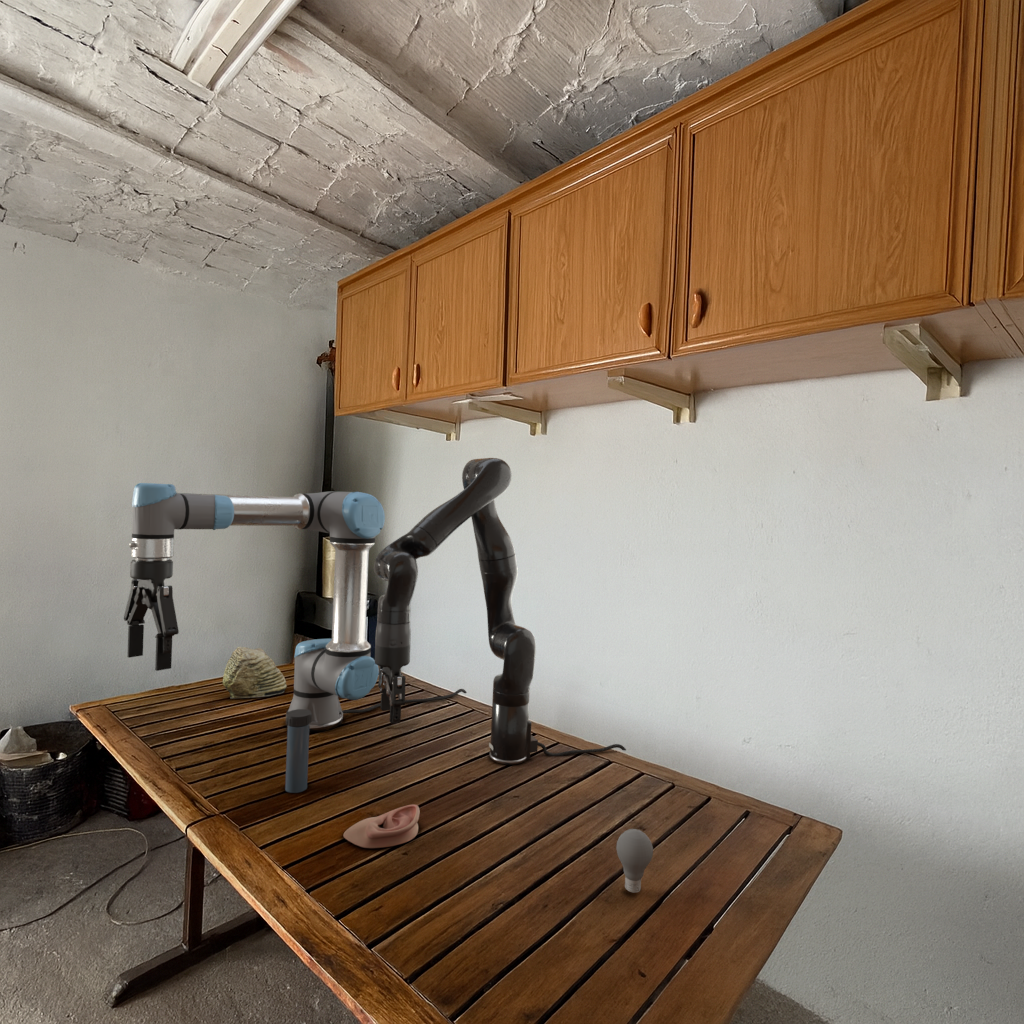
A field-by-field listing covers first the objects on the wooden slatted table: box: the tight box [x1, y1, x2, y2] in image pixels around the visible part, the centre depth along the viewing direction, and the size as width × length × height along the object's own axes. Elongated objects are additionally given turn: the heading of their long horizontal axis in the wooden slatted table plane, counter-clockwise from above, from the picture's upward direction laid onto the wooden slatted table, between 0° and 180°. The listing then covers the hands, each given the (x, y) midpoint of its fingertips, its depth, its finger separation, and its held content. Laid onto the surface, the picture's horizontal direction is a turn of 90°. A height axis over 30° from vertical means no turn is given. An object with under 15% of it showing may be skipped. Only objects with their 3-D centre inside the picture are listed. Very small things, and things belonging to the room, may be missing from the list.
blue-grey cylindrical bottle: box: [284, 724, 310, 794], centre depth 137 cm, size 5×5×16 cm
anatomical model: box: [342, 804, 421, 849], centre depth 120 cm, size 13×4×12 cm
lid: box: [285, 709, 312, 727], centre depth 137 cm, size 5×5×2 cm
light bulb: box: [615, 828, 654, 894], centre depth 106 cm, size 6×6×10 cm
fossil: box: [222, 646, 288, 699], centre depth 198 cm, size 9×18×15 cm, turn 132°
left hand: (148, 662), depth 129 cm, fingers open, 13 cm apart
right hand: (390, 716), depth 137 cm, fingers open, 8 cm apart
